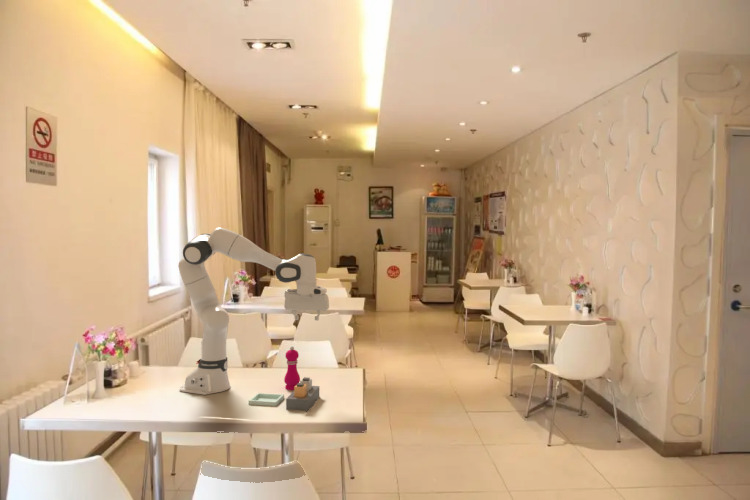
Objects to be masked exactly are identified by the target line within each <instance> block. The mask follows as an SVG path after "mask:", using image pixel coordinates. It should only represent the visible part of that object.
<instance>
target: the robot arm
mask: <svg viewBox="0 0 750 500" xmlns="http://www.w3.org/2000/svg"><path fill="white" fill-rule="evenodd" d="M184 245H185V246H184V247H183V250H182V255H183V256H182V259H180V261H179V262H178V270H179V274H180V277H181V280H182V282H183V284H184V287H185V289H186V291H187V294H188V295H189V297H190V300H191V301H192V304H193V307H194V310H195V312H196V314H197V317H198V320H199V321H200V323H201V324H202V327H203V328H202V338H201V347H200V348H201V349H200V350H201V358H200V359H198V360H197V361H196V365H197V367H195V369H193V370H192V371H191V372H190V373H188V374H187V375H186V377H185V380H184V384H182V385H181V386H180V387H179V391H180V392H183V393H190V394H196V395H205V396H206V395H210V394H215V393H221V392H225V391H227V390H229V389H231V384H230V380H229V375H228V368H229V367H228V366H229V365H228V362H229V359H228V357H227V338H228V331H229V323H230V317H229V314H228V313H229V312H228V311H227V310H226V309H224V308H223V307H222V306H221V303H220V301H219V298H218V296H217V293H216V289H215V286H214V285H213V282H212V280H211V277H210V276H209V274H208V271H207V270H206V266H205V262H206V261H208V260H209V259H211V257H212V256H214V255H215V254H216V253H219V254H222V255H224V256H227V257H228V258H231V259H232V260H236V261H239V262H242V263H255V264H259V265H262V266H264V267H266V268H269V269H270V270H273V271H274V272H275V274H274V275H275V277H276V279H277V280H278V281H279V282H282V283H286V284H288V283H292V282H296V289H292V288H288V289H287V290H285V291H284V304H283V305H284V306H283V307H284V309H285V310H286V311H287V310H288V311H292V312H291V313H292V315H293V316H294V321H299V319H300V316H299V315H298V314H297V311H315V312H316V311H317V312H316V313H317V315H315V316H314V321H319V320H320V316H321V313H322V312H323V311H324V312H325V311H328V310H329V309H330V302H329V301H330V300H329V296H328V294H327V291H328V290H327V288H325V287H324V286H323V287H322V286H320V285H317V280H316V276H317V263H316V257H315V256H314V255H311V254H309V253H298V254H297V255H295V256H294V257H292V258H286V259H285V258H281V257H279V256H276V255H274V254H272V253H270V252H268V251H266V250H264V249H262V248H261V247H260V246H258V245H257V244H255V243H254V242H253V241H251V240H250V239H248V238H247V237H245V236H243V235H241V234H240V233H237V232H235V231H233V230H230V229H227V228H223V227H216V228H215V229H214V230H212V231H211V233H202V234H199V235H198V236H195V237H194V238H192V239H191V240H190V241H189V242H187V243H186V244H184Z"/></svg>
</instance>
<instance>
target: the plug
mask: <svg viewBox="0 0 750 500" xmlns="http://www.w3.org/2000/svg"><path fill="white" fill-rule="evenodd" d="M293 391H294V397H300V398H305V397H306V396H307V386H306V385H305V384H304V383H300V382H299V383H298V384H297V385H296V386H295V387H294V390H293Z"/></svg>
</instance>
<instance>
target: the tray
mask: <svg viewBox="0 0 750 500" xmlns="http://www.w3.org/2000/svg"><path fill="white" fill-rule="evenodd" d="M284 399H285V394H284V393H283V394H282V393H268V392H267V393H264V392H258V393H256V394H254V395H253V397H251V398H250V399H249V400H248V405H249V406H250V405H251V406H268V407H269V406H270V407H277V406H278V405H279V404H280V403H281V402H282V401H283V400H284Z"/></svg>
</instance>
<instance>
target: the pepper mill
mask: <svg viewBox="0 0 750 500" xmlns="http://www.w3.org/2000/svg"><path fill="white" fill-rule="evenodd" d="M299 356H300V355H299V352H298V351H297V350H296V349H295V348H294V346H290V348H289V350H287V351H286V352H285V359H286V364H287V370H286V373H285V375H284V379H283V381H284V383H285V390H286V391H287V390H288V391H294V387H295V386H296V385H297V384H298V383H300V381H301V377H300V374H299V372H298V369H297V368H298V367H297V366H298V365H297V364H298V359H299Z"/></svg>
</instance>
